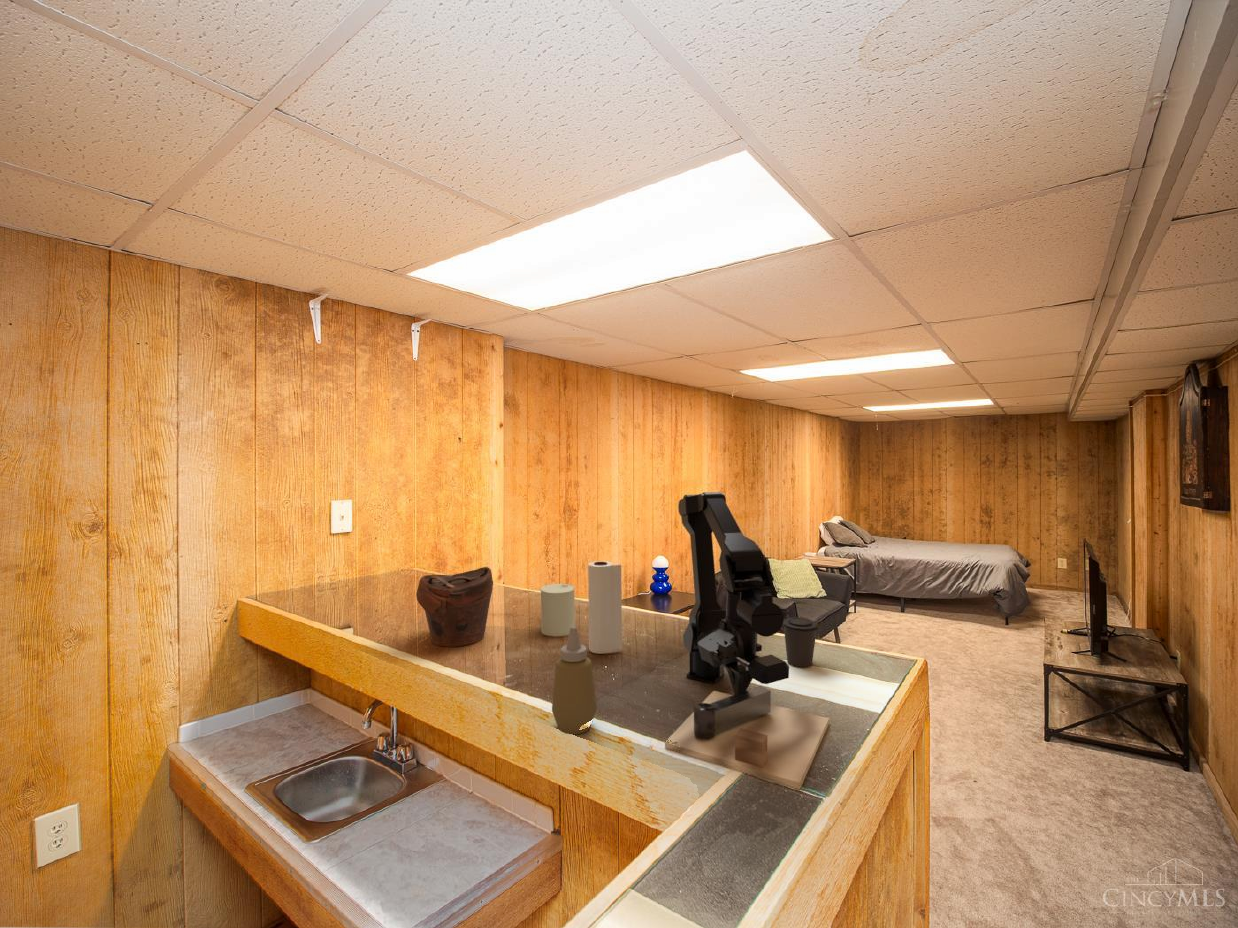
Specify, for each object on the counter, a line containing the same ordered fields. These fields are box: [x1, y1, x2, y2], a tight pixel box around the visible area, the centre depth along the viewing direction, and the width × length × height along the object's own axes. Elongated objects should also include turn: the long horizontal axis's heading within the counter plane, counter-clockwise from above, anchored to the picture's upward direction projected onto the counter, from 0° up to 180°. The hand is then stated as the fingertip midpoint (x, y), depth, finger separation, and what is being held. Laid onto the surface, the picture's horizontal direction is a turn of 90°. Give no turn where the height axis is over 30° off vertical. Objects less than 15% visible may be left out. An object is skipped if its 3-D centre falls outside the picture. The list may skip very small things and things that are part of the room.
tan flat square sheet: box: [664, 690, 830, 790], centre depth 98 cm, size 22×22×1 cm
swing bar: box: [693, 685, 772, 739], centre depth 99 cm, size 17×4×4 cm, turn 124°
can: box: [540, 583, 576, 638], centre depth 151 cm, size 9×9×12 cm
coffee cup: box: [782, 617, 820, 669], centre depth 129 cm, size 8×8×10 cm
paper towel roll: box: [587, 560, 623, 655], centre depth 137 cm, size 7×6×21 cm
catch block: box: [735, 728, 767, 768], centre depth 89 cm, size 4×2×4 cm, turn 59°
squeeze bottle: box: [551, 626, 597, 735], centre depth 101 cm, size 8×8×18 cm
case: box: [415, 566, 494, 648], centre depth 145 cm, size 18×20×18 cm
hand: (738, 699), depth 104 cm, fingers closed
